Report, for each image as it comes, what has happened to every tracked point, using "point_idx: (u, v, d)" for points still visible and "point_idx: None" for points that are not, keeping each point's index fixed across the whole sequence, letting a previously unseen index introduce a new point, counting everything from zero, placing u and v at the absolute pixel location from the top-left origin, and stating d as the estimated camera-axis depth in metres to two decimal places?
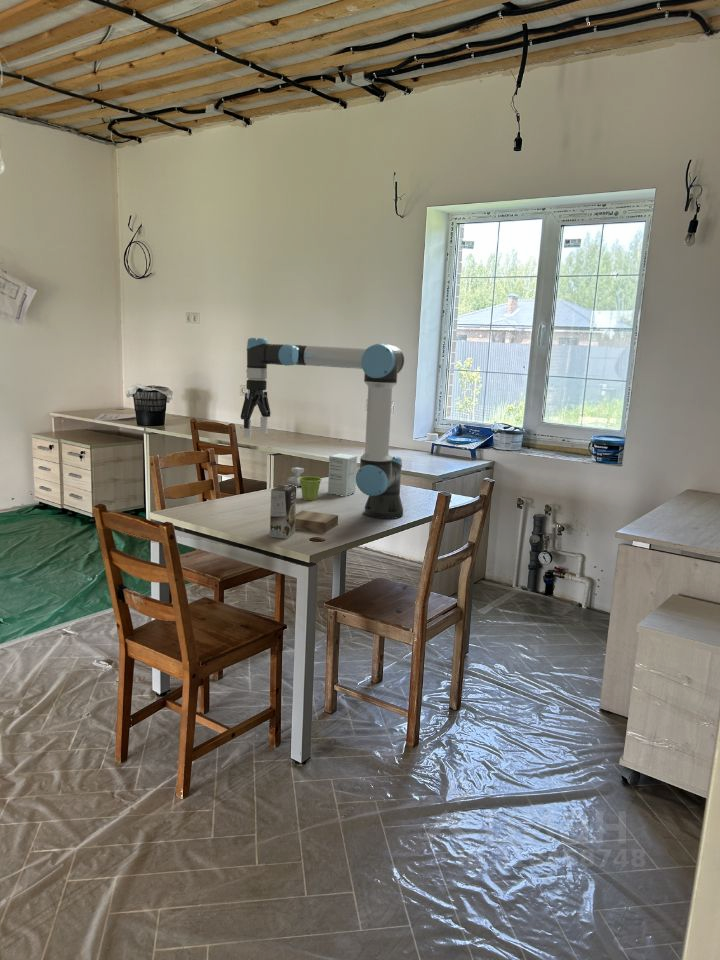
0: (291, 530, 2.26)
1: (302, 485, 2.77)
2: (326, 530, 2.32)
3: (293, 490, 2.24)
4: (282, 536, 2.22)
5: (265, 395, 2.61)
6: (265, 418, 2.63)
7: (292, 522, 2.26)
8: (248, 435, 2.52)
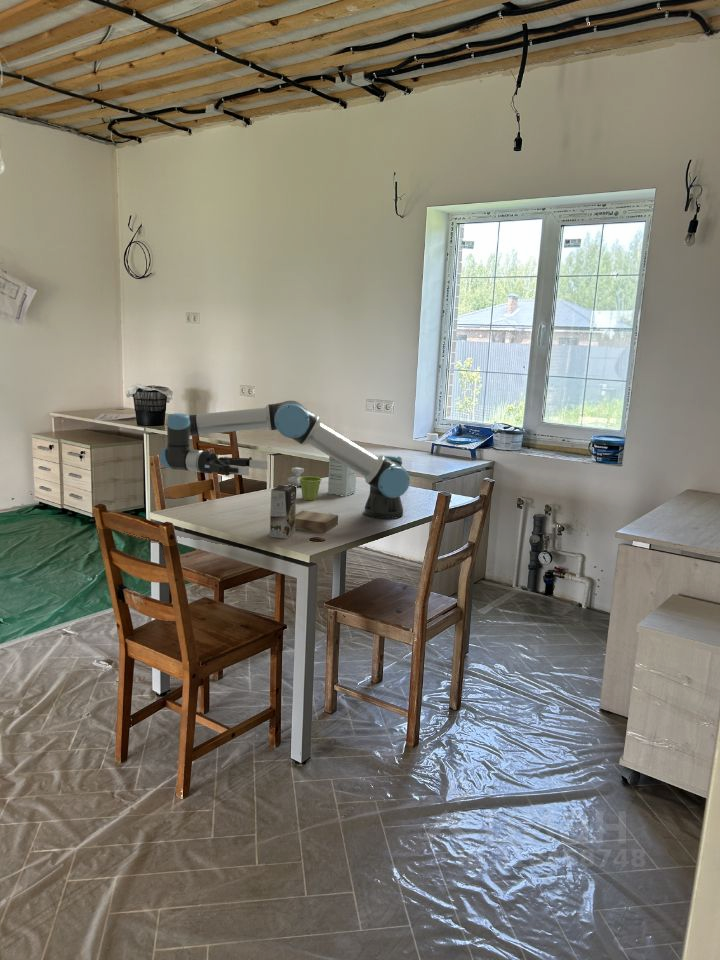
0: (291, 531, 2.26)
1: (302, 485, 2.77)
2: (326, 530, 2.32)
3: (293, 490, 2.24)
4: (282, 536, 2.22)
5: (226, 458, 2.35)
6: (251, 461, 2.33)
7: (292, 522, 2.26)
8: (245, 469, 2.19)
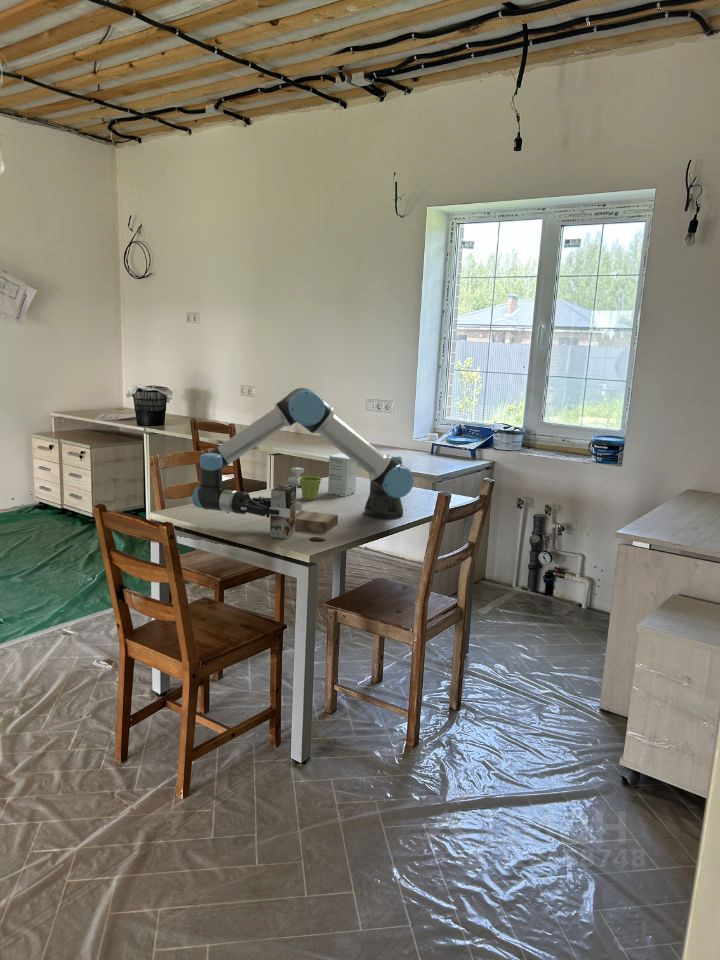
0: (291, 530, 2.26)
1: (302, 485, 2.77)
2: (327, 530, 2.32)
3: (293, 490, 2.24)
4: (282, 536, 2.22)
5: (260, 498, 2.33)
6: None
7: (292, 522, 2.26)
8: (286, 511, 2.18)
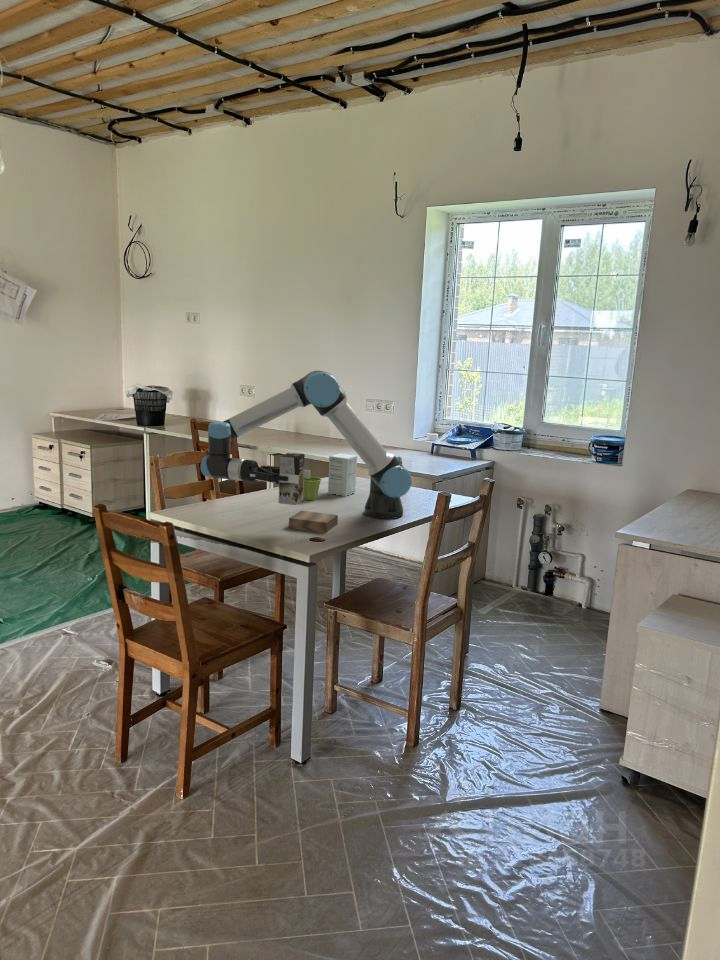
0: (300, 497, 2.27)
1: None
2: (327, 530, 2.32)
3: (301, 457, 2.25)
4: (291, 502, 2.23)
5: (268, 466, 2.35)
6: None
7: (300, 489, 2.27)
8: (295, 477, 2.20)
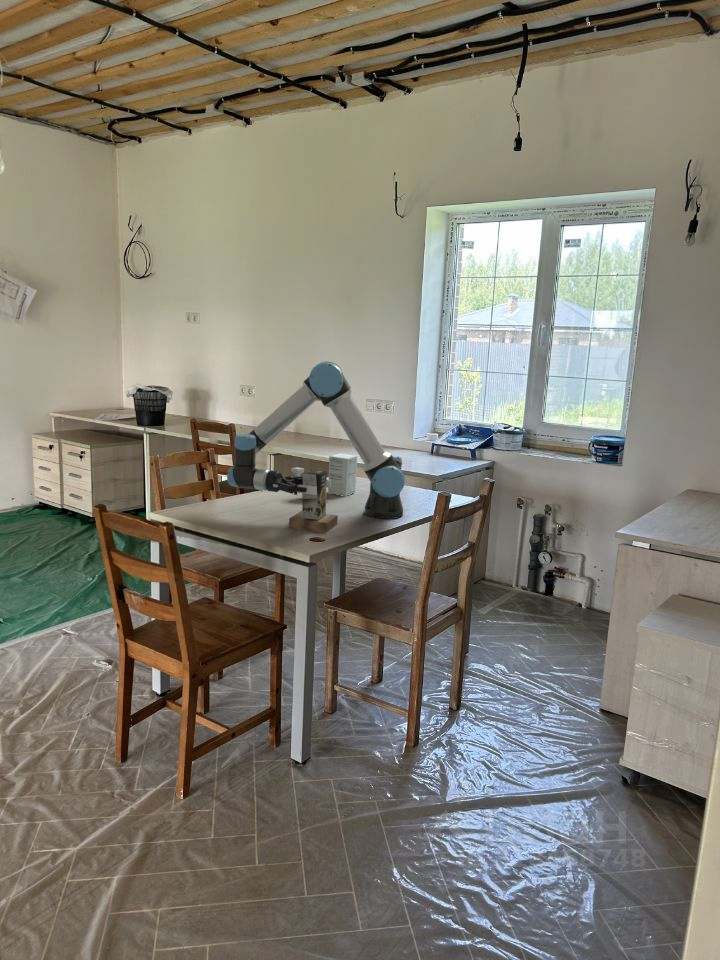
0: (322, 512, 2.37)
1: None
2: (327, 530, 2.32)
3: (323, 474, 2.35)
4: (314, 517, 2.33)
5: (291, 476, 2.45)
6: None
7: (323, 504, 2.37)
8: (314, 488, 2.29)
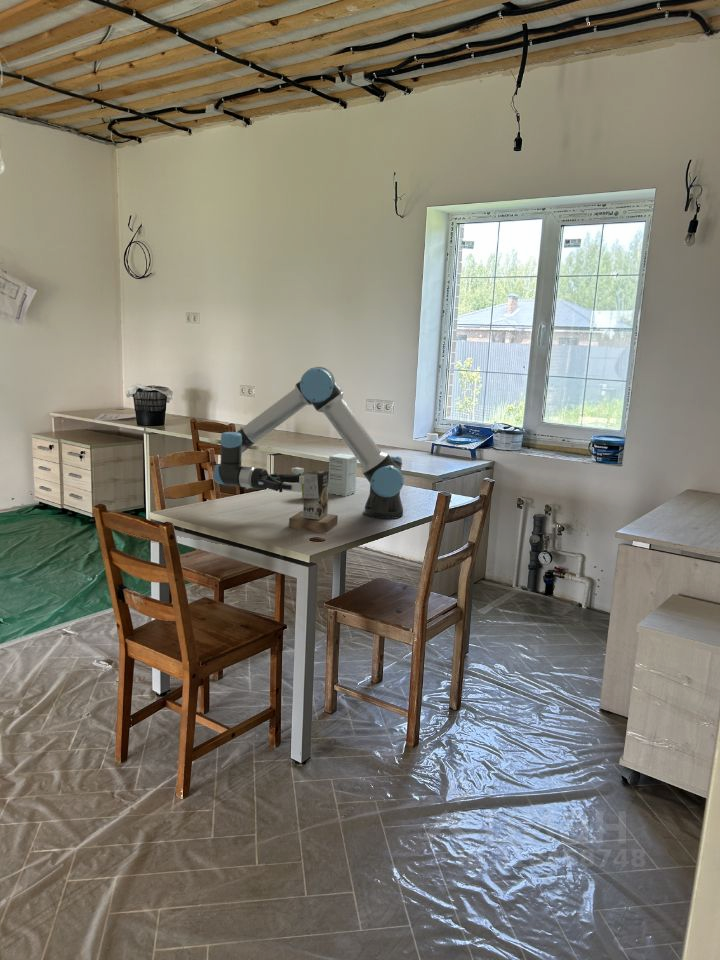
0: (324, 513, 2.37)
1: (302, 485, 2.77)
2: (327, 530, 2.32)
3: (325, 474, 2.35)
4: (314, 517, 2.34)
5: (276, 474, 2.46)
6: (300, 477, 2.44)
7: (324, 504, 2.37)
8: (298, 486, 2.30)
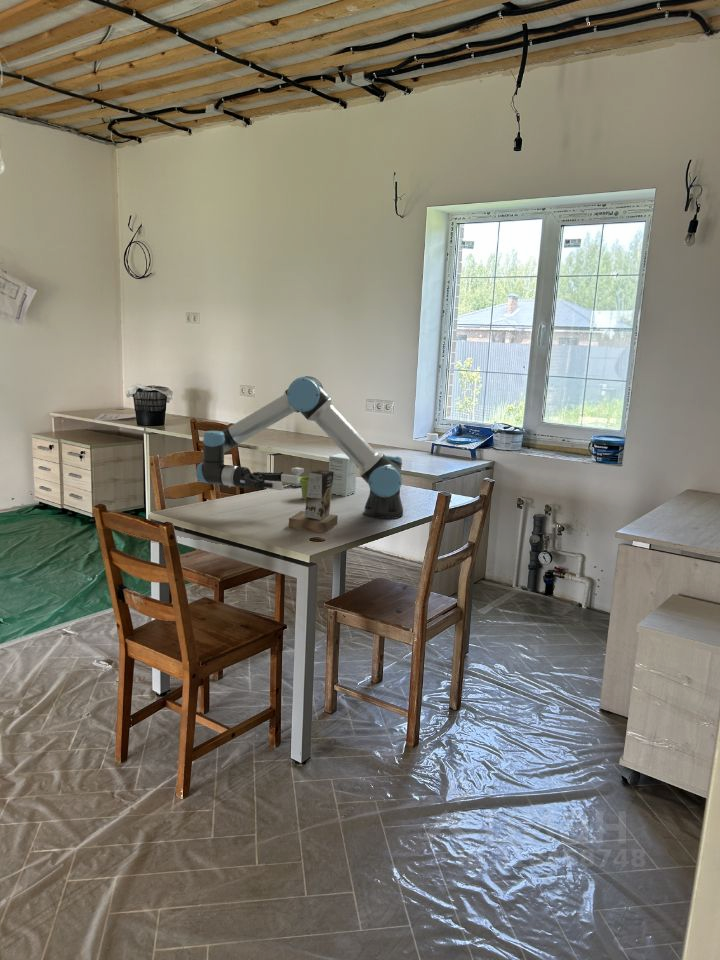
0: (325, 513, 2.37)
1: (302, 485, 2.77)
2: (327, 530, 2.32)
3: (330, 474, 2.35)
4: (316, 517, 2.33)
5: (259, 472, 2.49)
6: (282, 475, 2.47)
7: (327, 505, 2.37)
8: (279, 484, 2.32)
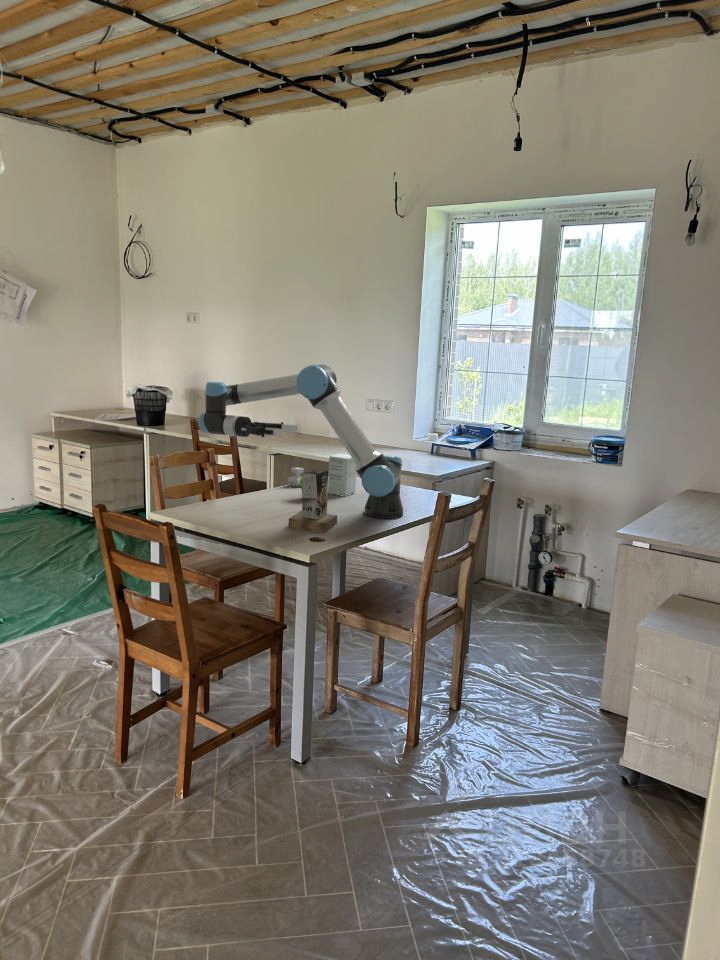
0: (323, 512, 2.38)
1: (302, 485, 2.77)
2: (326, 530, 2.32)
3: (324, 474, 2.36)
4: (313, 517, 2.34)
5: (260, 423, 2.54)
6: (283, 425, 2.52)
7: (323, 504, 2.38)
8: (280, 431, 2.38)
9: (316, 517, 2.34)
